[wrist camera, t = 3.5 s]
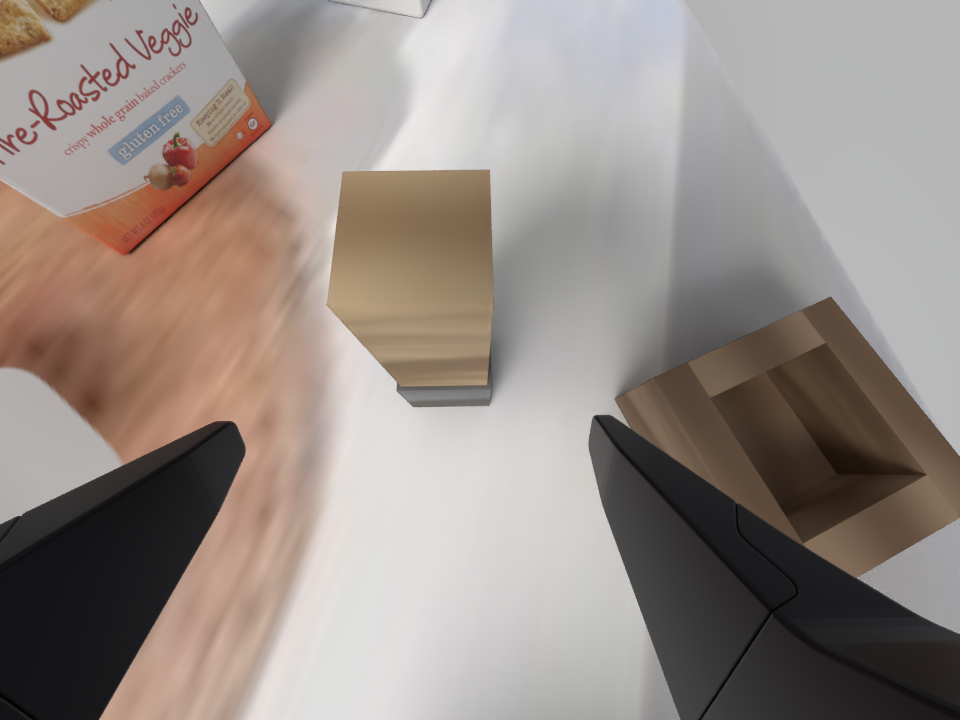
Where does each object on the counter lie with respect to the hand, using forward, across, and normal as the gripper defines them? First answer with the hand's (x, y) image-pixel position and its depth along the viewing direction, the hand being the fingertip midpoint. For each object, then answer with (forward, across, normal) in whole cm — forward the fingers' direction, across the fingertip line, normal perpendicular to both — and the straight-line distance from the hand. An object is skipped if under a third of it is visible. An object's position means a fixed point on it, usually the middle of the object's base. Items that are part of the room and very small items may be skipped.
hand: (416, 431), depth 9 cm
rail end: (+12, 0, +5) cm, 13 cm away
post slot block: (+8, -16, +8) cm, 20 cm away
